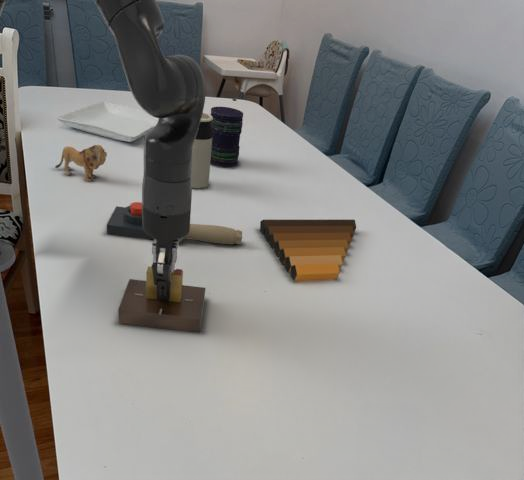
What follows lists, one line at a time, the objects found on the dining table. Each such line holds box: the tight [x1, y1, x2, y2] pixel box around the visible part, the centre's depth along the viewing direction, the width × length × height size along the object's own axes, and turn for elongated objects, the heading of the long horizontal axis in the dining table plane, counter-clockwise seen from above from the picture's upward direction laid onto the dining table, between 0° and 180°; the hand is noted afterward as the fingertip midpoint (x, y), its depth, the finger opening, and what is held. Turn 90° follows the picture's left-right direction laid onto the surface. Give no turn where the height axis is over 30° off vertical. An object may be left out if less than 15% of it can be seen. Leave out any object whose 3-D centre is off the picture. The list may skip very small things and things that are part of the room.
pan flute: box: [259, 219, 357, 282], centre depth 117 cm, size 25×3×25 cm
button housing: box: [106, 205, 154, 241], centre depth 113 cm, size 12×10×4 cm
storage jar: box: [210, 98, 244, 169], centre depth 151 cm, size 10×10×18 cm
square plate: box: [56, 101, 159, 143], centre depth 165 cm, size 27×27×4 cm
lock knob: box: [145, 265, 184, 302], centre depth 86 cm, size 6×2×6 cm, turn 91°
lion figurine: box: [54, 144, 108, 182], centre depth 129 cm, size 15×5×9 cm, turn 77°
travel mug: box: [191, 112, 213, 189], centre depth 133 cm, size 8×8×18 cm
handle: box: [179, 223, 243, 245], centre depth 112 cm, size 5×6×15 cm
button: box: [129, 201, 142, 215], centre depth 111 cm, size 4×4×2 cm
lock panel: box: [117, 278, 206, 333], centre depth 89 cm, size 14×10×3 cm
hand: (164, 295), depth 88 cm, fingers closed on lock knob, 2 cm apart
